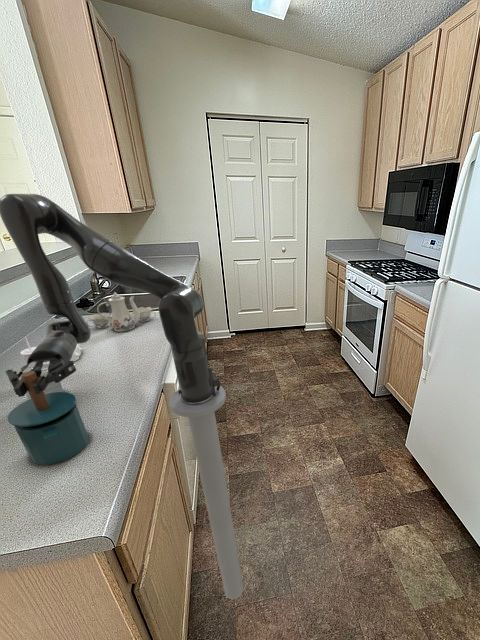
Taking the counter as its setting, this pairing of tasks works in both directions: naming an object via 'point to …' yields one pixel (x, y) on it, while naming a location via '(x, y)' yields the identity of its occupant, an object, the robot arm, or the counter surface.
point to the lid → (40, 405)
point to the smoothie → (27, 351)
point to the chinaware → (120, 315)
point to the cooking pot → (55, 438)
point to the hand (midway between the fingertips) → (28, 391)
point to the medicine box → (50, 389)
